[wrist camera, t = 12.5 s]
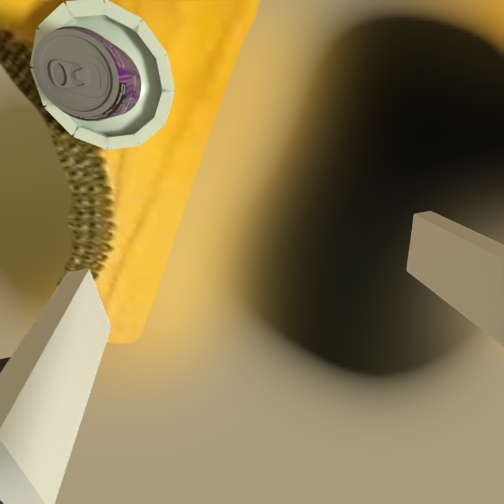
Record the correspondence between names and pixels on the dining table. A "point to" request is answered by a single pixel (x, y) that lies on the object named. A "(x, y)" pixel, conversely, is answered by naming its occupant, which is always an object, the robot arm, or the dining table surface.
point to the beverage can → (86, 74)
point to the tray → (143, 55)
